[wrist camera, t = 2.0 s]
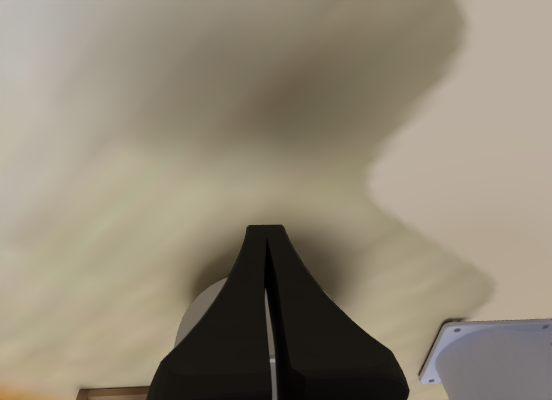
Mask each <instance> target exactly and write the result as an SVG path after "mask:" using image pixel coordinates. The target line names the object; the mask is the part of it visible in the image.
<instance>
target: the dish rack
mask: <svg viewBox="0 0 552 400" xmlns="http://www.w3.org/2000/svg"><path fill="white" fill-rule="evenodd" d="M149 388H150V387H137V388H115V389H93V390H79V393H78V395H77V398H76V400H146V397H147V394H148V391H149Z"/></svg>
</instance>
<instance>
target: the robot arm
mask: <svg viewBox="0 0 552 400" xmlns="http://www.w3.org/2000/svg"><path fill="white" fill-rule="evenodd" d="M265 291H266V294H267V301H268V307H269V314H270V321H271V327H272V334H273V341H274V350H275V368H276V387H277V400H407V399H408V396H409V391H410V390H409V387H408V384H407V381H406V378H405V376H404V373H403V371H402V369H401V367H400V365H399V363H398V362H397V360H396V358H395V356H394V354H393V353H392V351H391V350H389V349H388V348H387V347H385V346H384V345H382V344H381V343H380V342H378V341H377V340H376V339H374V338H373V337H371V336H370V335H369V334H368V333H366V332H365V331H364V330H363V329H362V328H360V327H359V326H358V325H357V324H356V323H355V322H354V321H352V320H351V319H350V318H349V317H348V316H347V315H346V314H345V313H344V312H343V311H342V310H341V309H340V308H339V307H338V306H337V305H336V304H335V303H334V302H333V301H332V300H331V299H330V298H329V297H328V295H327V294H326V293H325V292H324V291H323V290H322V288H321V287H320V286H319V285H318V283H317V282H316V281H315V280H314V278H313V277H312V275H311V274H310V273H309V271H308V270H307V268H306V267H305V265H304V264H303V262H302V261H301V259H300V258H299V256H298V254H297V253H296V251H295V249H294V247H293V246H292V244H291V242H290V240H289V238H288V236H287V233H286V231H285V228H284V227H283V226H282V225H249V226H248V227H247V228H246V234H245V239H244V242H243V245H242V248H241V250H240V253H239V255H238V258H237V260H236V262H235V264H234V267H233V268H232V270H231V272H230V274H229V276H228V278H227V280H226V282H225V284H224V285H223V287H222V289H221V290H220V292H219V294H218V295H217V297H216V298H215V300H214V301H213V303H212V304H211V305H210V307H209V308H208V310H207V311H206V312H205V314H204V315H203V316H202V318H201V319H200V320H199V321H198V322H197V324H196V325H195V326H194V327H193V328H192V330H191V331H190V332H189V333H188V334H187V335H186V337H185V338H184V339H183V340H182V341H181V342H180V343H179V344H178V345H177V346H176V347H175V348H174V349H173V350H172V351H171V352H170V353H169V354H168V355H167V356H166V357H165V358H164V359H163V360H162V361H161V363H160V365H159V367H158V369H157V371H156V373H155V375H154V378H153V380H152V382H151V385H150V388H149V391H148V394H147V397H146V400H272V377H271V365H270V355H269V344H268V333H267V321H266V308H265ZM419 381H420V383H422V384H437V383H442V384H443V386H444V389H445V391H446V393H447V395H448V397H449V400H552V319H530V320H505V321H504V320H502V321H476V322H475V321H474V322H449V323H446V324H444V325H443V327H442V329H441V331H440V333H439V335H438V337H437V340H436V342H435V344H434V346H433V348H432V350H431V352H430V355H429V357H428V359H427V361H426V363H425V365H424V367H423V370H422V372H421V374H420V376H419Z"/></svg>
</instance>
